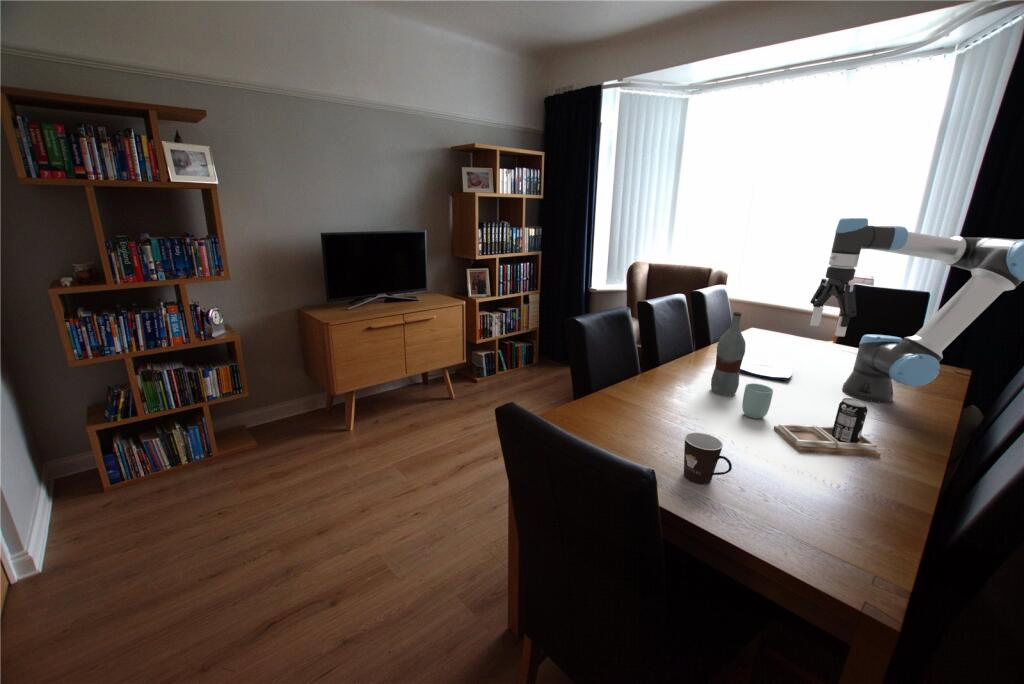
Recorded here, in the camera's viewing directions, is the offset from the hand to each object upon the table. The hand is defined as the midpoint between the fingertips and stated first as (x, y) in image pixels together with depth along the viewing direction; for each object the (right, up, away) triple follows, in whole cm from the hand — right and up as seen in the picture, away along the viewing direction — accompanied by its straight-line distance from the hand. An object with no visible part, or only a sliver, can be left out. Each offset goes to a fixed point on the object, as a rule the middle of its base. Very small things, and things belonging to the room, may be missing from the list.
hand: (826, 330), depth 153 cm
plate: (0, -17, +39) cm, 43 cm away
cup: (-27, -28, -4) cm, 39 cm away
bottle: (-28, -22, +15) cm, 39 cm away
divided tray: (-14, -33, -20) cm, 41 cm away
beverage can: (-9, -32, -20) cm, 39 cm away
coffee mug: (-59, -38, -41) cm, 82 cm away
